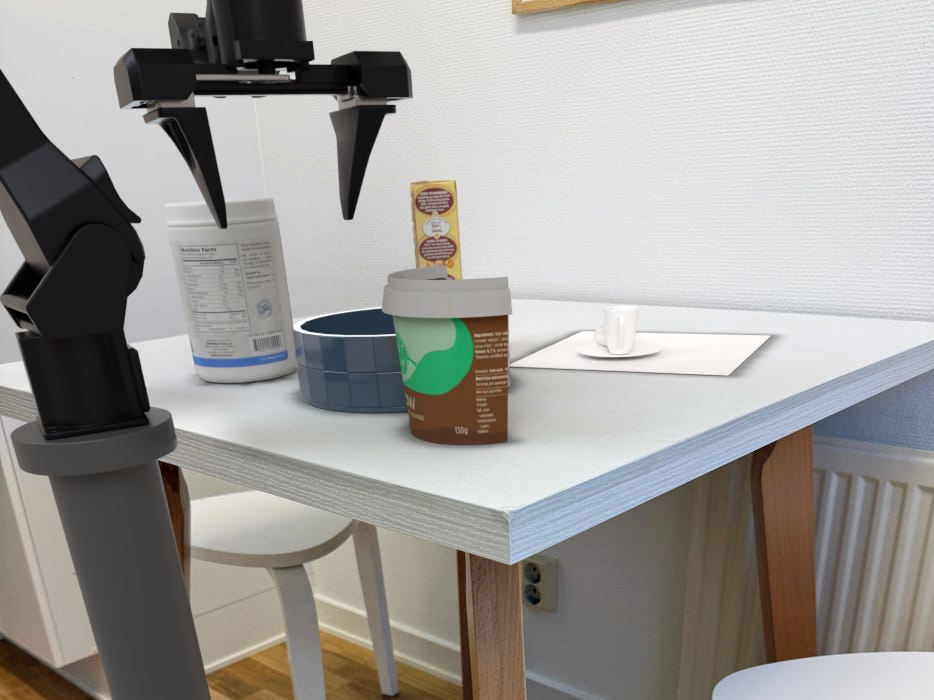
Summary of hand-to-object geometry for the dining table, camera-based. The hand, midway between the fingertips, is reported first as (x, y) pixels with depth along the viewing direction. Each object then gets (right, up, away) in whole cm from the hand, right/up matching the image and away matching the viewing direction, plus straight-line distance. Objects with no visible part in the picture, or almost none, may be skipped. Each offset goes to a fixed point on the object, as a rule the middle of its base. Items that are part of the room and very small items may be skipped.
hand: (287, 224), depth 62 cm
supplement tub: (-8, -5, +20) cm, 22 cm away
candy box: (+10, -1, +26) cm, 28 cm away
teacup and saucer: (+29, -2, +22) cm, 37 cm away
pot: (+8, -8, +11) cm, 16 cm away
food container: (+11, -15, -2) cm, 19 cm away
